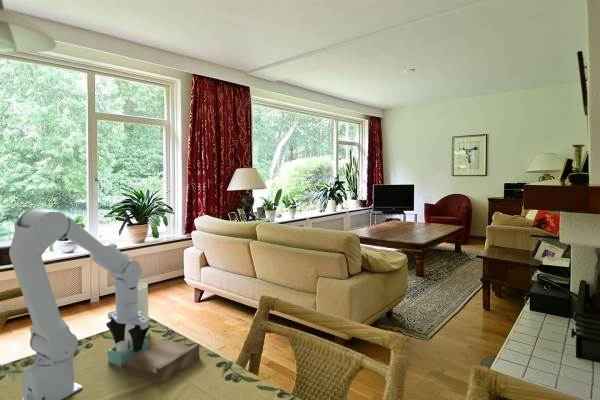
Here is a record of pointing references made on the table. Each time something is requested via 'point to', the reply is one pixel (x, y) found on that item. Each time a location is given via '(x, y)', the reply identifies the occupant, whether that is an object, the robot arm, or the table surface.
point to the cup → (140, 307)
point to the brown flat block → (162, 360)
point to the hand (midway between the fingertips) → (128, 347)
